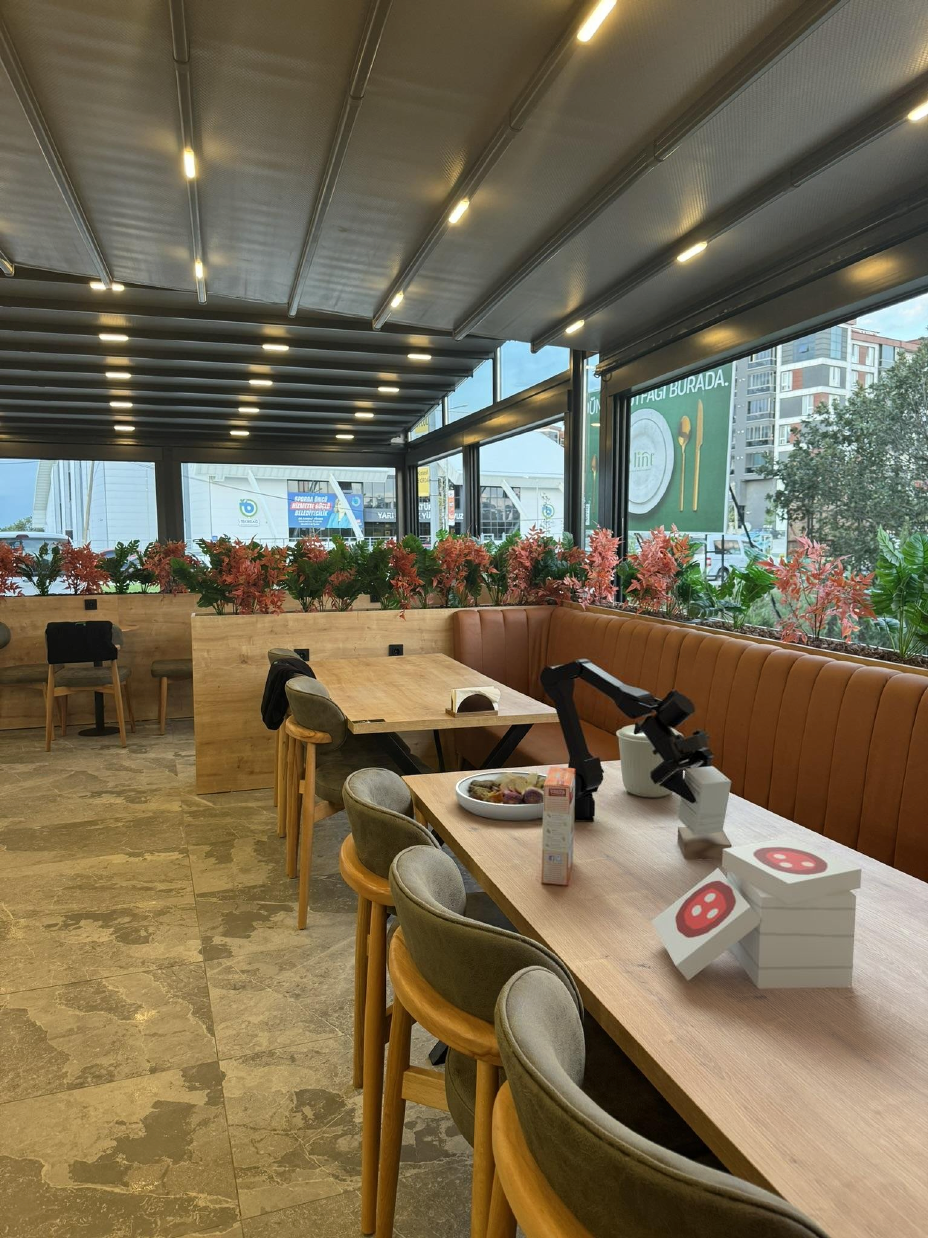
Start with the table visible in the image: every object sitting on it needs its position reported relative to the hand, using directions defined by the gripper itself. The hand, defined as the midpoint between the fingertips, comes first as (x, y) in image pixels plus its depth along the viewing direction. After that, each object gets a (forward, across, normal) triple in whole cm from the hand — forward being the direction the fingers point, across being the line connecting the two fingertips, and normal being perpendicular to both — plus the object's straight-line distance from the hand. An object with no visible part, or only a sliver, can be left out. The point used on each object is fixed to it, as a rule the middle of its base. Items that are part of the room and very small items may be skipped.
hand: (705, 797), depth 178 cm
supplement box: (+4, 0, +6) cm, 7 cm away
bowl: (-28, -4, +48) cm, 55 cm away
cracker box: (-2, -30, +22) cm, 37 cm away
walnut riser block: (+9, +2, +10) cm, 14 cm away
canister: (-14, +31, +34) cm, 48 cm away
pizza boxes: (+30, -36, -11) cm, 49 cm away
